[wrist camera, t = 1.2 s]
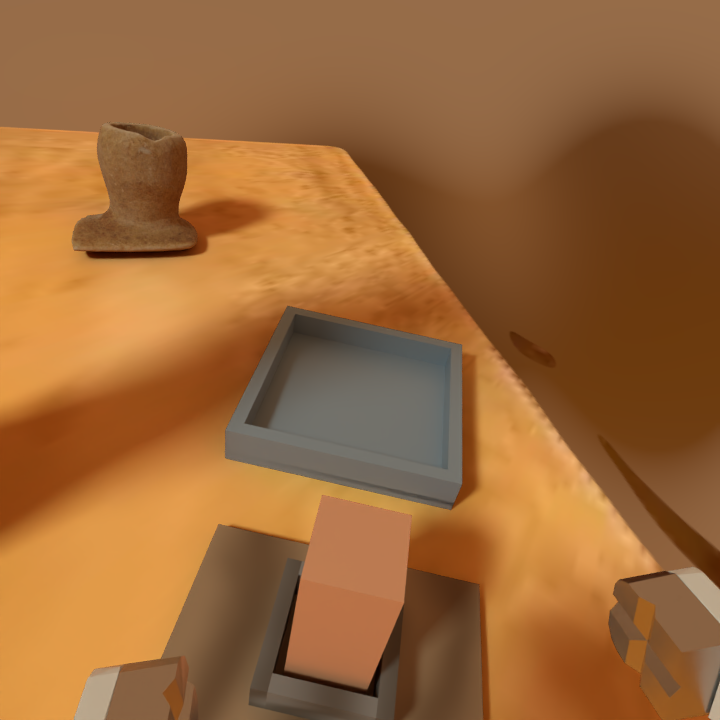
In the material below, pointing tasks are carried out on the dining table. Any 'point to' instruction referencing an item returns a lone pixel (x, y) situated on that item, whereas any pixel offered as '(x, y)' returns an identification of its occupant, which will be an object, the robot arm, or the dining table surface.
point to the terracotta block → (348, 594)
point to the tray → (355, 408)
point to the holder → (273, 629)
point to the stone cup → (139, 192)
